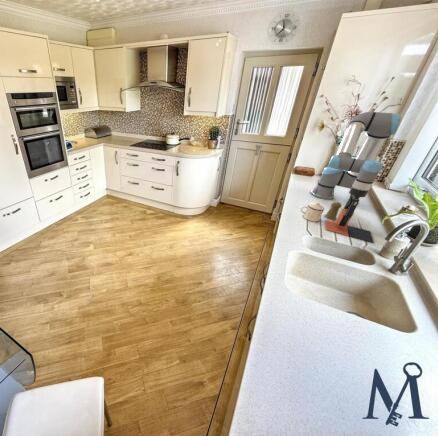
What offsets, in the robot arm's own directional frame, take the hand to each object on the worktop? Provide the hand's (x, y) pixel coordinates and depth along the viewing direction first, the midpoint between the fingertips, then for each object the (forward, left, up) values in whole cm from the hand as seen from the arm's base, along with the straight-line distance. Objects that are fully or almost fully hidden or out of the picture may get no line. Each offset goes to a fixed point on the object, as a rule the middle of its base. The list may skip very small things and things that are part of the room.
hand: (341, 223), depth 142 cm
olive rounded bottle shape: (-14, -4, -4) cm, 15 cm away
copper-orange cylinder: (0, 0, 0) cm, 0 cm away
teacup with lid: (-4, -16, -4) cm, 17 cm away
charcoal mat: (0, +11, -4) cm, 11 cm away
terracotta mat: (0, -1, -4) cm, 4 cm away
